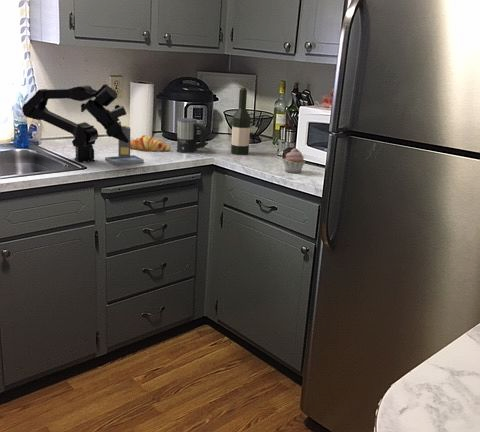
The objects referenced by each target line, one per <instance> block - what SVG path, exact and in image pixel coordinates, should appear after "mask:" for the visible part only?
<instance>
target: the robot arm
mask: <svg viewBox="0 0 480 432" xmlns="http://www.w3.org/2000/svg"><path fill="white" fill-rule="evenodd" d="M117 98H118V94H117V92H116V90H114V88H113V87H110V86H109V85H108V84H106V83H105V84H104V83H103V85H102V86H101V87H100V88H99V89H98V90H96V89H93V87H92V86H91V85H86V84H85V85H79V86H75V87H74V86H73V87H70V88H57V89H56V88H55V89H54V88H53V89H48V88H41V89H38V90H37V91H36V92H35V93H34V94H33V96H31V97H30V98H29V100H27V102H25V103H24V104H23V105H22V109H21V110H22V114H23V116H24V117H26V118H28V119H33V120H37V121H38V120H40V121H43V122H46V123H47V124H50V125H53V127H56V128H58V129H61V130H63V131H65V132H67V133H70V134H71V135H72V136H73V137H74V139H73V140H72V141H71V142H72V147H74V149H75V157H74V158H73V160H75V161H77V162H79V163H85V162H86V163H87V162H95V148H94V145H95V144H96V141H97V140H98V138H99V132H98V130H97V128H95V126H94V125H91V124H90V123H88V122H80V123H77V122H73V121H71V120H69V119H67V118H66V117H63V116H60V115H59V114H56V113H54V112H52V111H50V110H49V109H48V108H47V104H48V102H49V101H48V100H55V99H60V100H61V99H63V100H64V99H65V100H66V99H68V100H72V101H77V102H84V101H86V102H85V103H81V104H80V112H81V113H83V112H85V111H88V113H89V114H90V115H91V116H92V117H94V119H95V120H96V121H97V123H99V124H100V125H101V126H102V127H103V129H104V130H106V131H105V133H106V136H108V137H109V138H114V139H117V140H118V139H119V140H121V141H123V142H126V143H128V142H129V140H128V139H127V137H126V136H125V135H124V133H123V132H122V126H123V125H122V124H121V123H122V122H121V121H120V117H122V116H127V111H126V109H125V106H124V105H119V104H116V105H114V108H113V109H112V110H109V108H107V107H108V106H109V105H111V103H113V102H115V100H116V99H117Z"/></svg>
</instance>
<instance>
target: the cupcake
mask: <svg viewBox="0 0 480 432" xmlns="http://www.w3.org/2000/svg"><path fill="white" fill-rule="evenodd" d="M304 159H305V158H304V156H303V154H302V152H301V151H300V150H299V149H298V148H296V147H295V148H293V149H291V150H290V152H287V153H286V155H285V158H283V159H282V162H283V164H284V168H285V172H286V173H290V174H300V173H301V172H302V169H303V166H304V165H305V162H306V160H304Z"/></svg>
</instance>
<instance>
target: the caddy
mask: <svg viewBox="0 0 480 432" xmlns="http://www.w3.org/2000/svg"><path fill="white" fill-rule="evenodd" d="M122 132H123V133H124V135H125V136H126V137H127V139H128V140H129V142H128V143H126V142H123V141H121V140H119V139H117V140H118V149H117V150H118V156H119V158H130V155H131V148H130V140H131V127H130V126H127V125H122Z"/></svg>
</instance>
